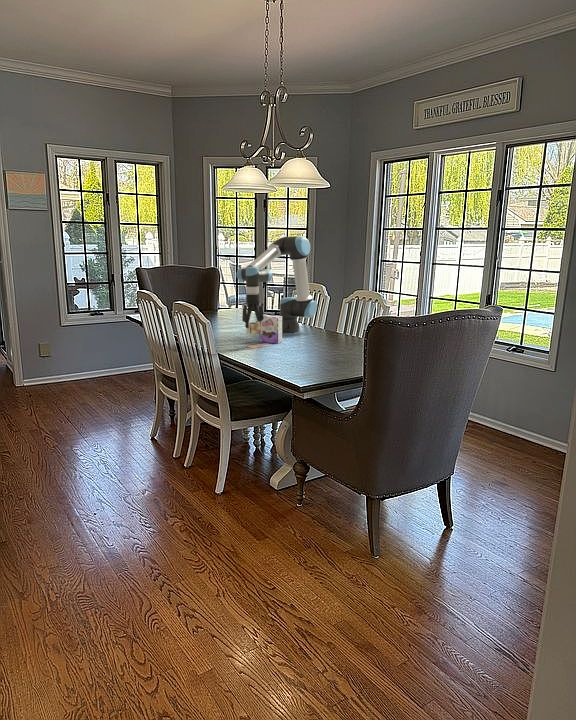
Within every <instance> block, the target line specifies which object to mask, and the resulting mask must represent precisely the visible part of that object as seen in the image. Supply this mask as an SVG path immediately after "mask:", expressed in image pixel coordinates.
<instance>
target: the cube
mask: <svg viewBox="0 0 576 720" xmlns="http://www.w3.org/2000/svg"><path fill="white" fill-rule="evenodd" d="M249 323H250V334H249V335H259V334H260V323H256V321H255V322H254V321H253V322H249ZM245 328H246V327H245ZM245 332H246V333H245V334H248V333H247V328H246V330H245Z"/></svg>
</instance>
